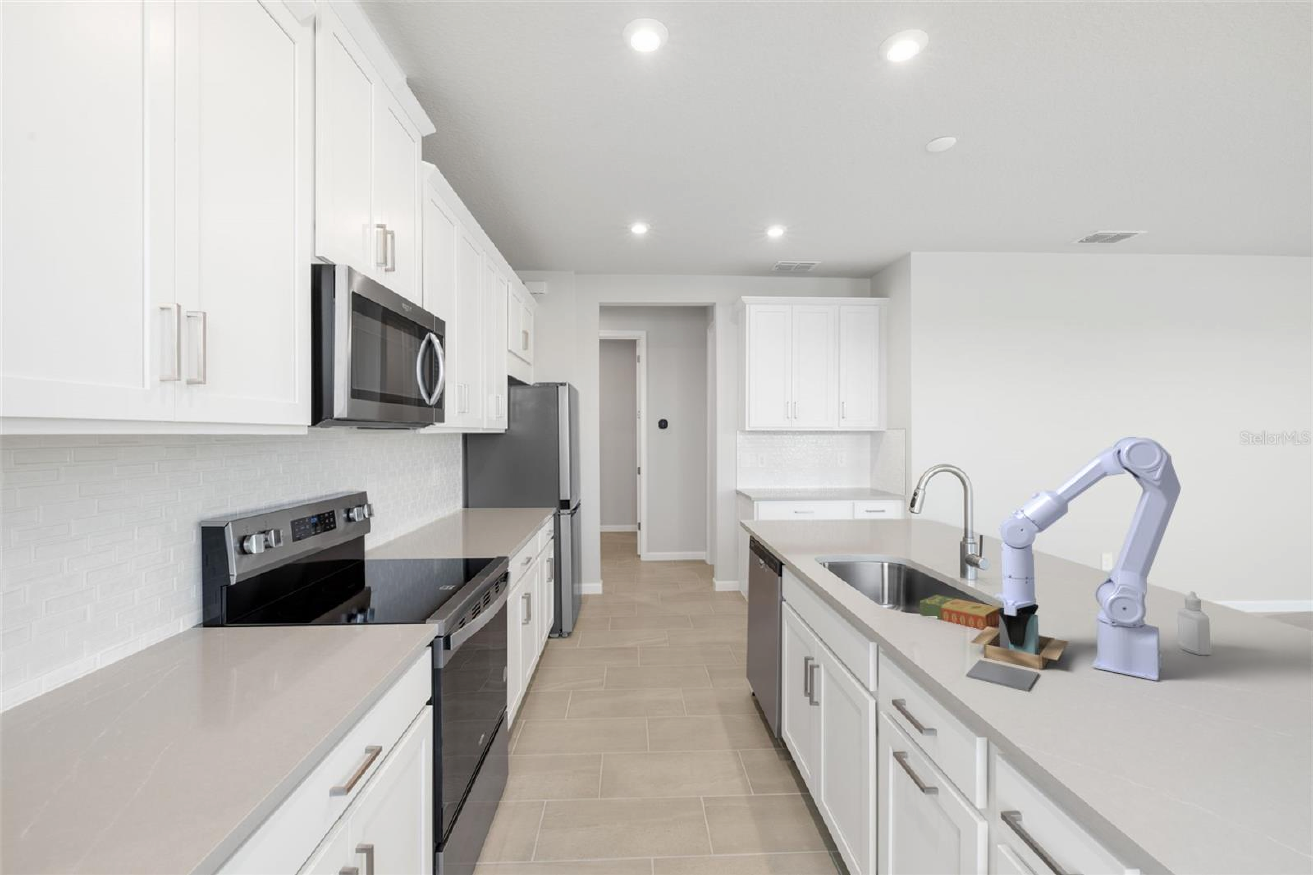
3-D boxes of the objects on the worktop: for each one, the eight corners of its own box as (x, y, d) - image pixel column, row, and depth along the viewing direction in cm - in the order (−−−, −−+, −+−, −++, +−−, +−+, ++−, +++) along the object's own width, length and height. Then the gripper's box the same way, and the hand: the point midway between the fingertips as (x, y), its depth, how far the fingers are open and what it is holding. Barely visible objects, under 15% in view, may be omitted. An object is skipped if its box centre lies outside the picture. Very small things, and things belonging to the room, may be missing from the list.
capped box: (1039, 654, 119) (1038, 614, 119) (1034, 660, 116) (1033, 619, 116) (1005, 647, 123) (1004, 609, 123) (1000, 653, 120) (999, 613, 120)
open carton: (1069, 652, 119) (1068, 640, 119) (1057, 673, 110) (1056, 659, 110) (988, 637, 129) (987, 625, 129) (970, 654, 120) (970, 642, 120)
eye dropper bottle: (1181, 653, 117) (1180, 593, 117) (1177, 644, 122) (1175, 587, 122) (1211, 657, 115) (1210, 596, 115) (1205, 648, 119) (1204, 590, 119)
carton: (986, 633, 133) (985, 614, 133) (919, 616, 146) (918, 599, 146) (1002, 624, 138) (1002, 606, 138) (936, 609, 151) (935, 593, 151)
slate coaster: (1038, 675, 109) (1038, 672, 109) (1028, 691, 102) (1028, 689, 102) (979, 661, 116) (979, 659, 116) (966, 676, 109) (966, 674, 109)
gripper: (1004, 566, 127) (1006, 628, 127) (986, 580, 117) (988, 647, 117) (1042, 571, 122) (1044, 635, 122) (1027, 585, 112) (1028, 656, 112)
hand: (1019, 641), depth 119 cm, fingers closed on capped box, 4 cm apart
